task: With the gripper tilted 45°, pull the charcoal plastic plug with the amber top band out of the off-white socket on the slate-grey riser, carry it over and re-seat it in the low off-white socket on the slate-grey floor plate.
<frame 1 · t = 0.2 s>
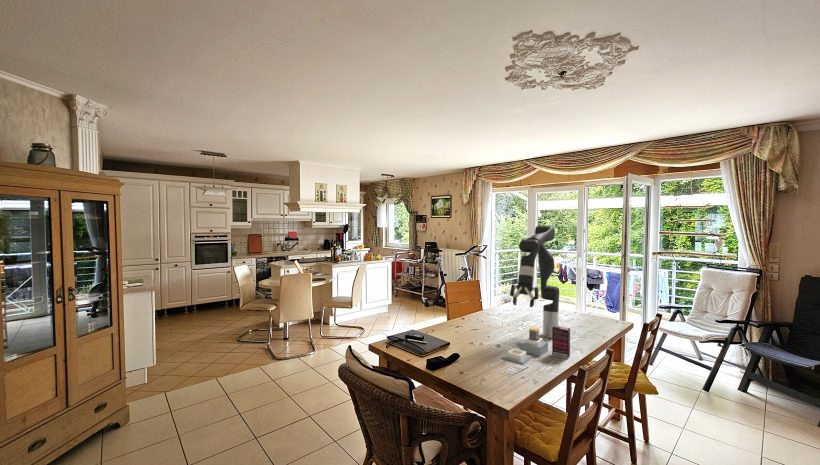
hand: (522, 306, 172), 31 cm above the table, tool tilted 20°, fingers open, 8 cm apart
plug: (533, 342, 192), point 5 cm above the table, touching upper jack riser
supplement box: (560, 356, 185), on the table
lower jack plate: (516, 358, 181), on the table
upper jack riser: (533, 350, 192), on the table
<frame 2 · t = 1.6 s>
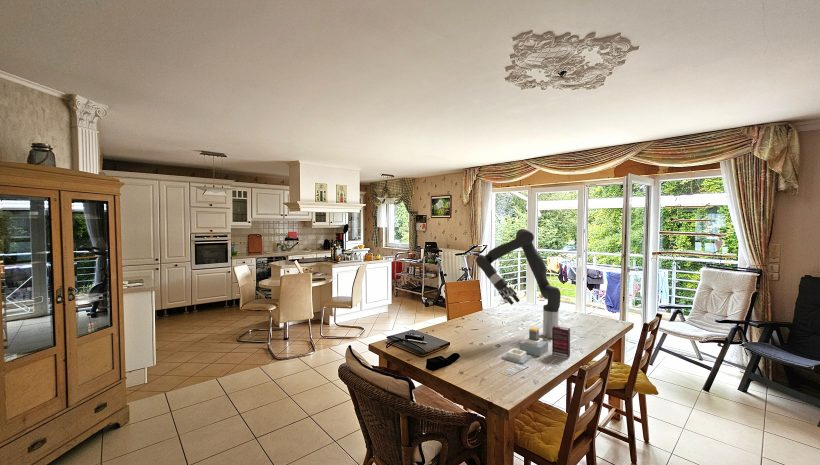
hand: (515, 302, 199), 26 cm above the table, tool tilted 45°, fingers open, 8 cm apart
nothing on the table moved.
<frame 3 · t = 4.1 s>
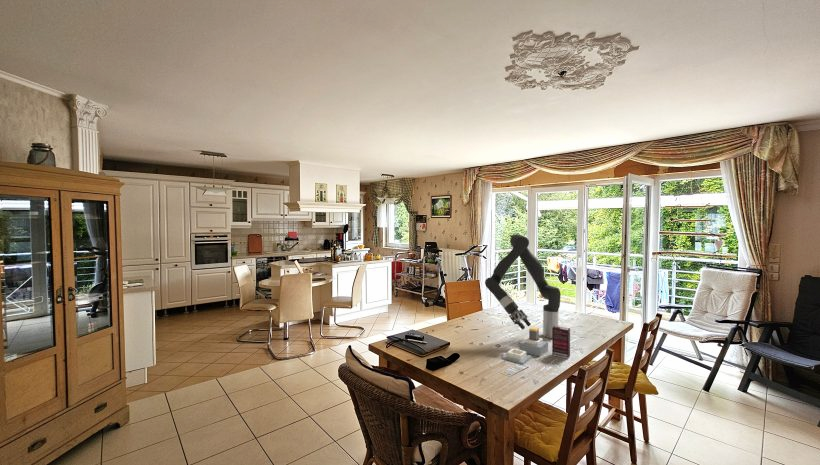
hand: (526, 327, 195), 13 cm above the table, tool tilted 45°, fingers open, 8 cm apart
nothing on the table moved.
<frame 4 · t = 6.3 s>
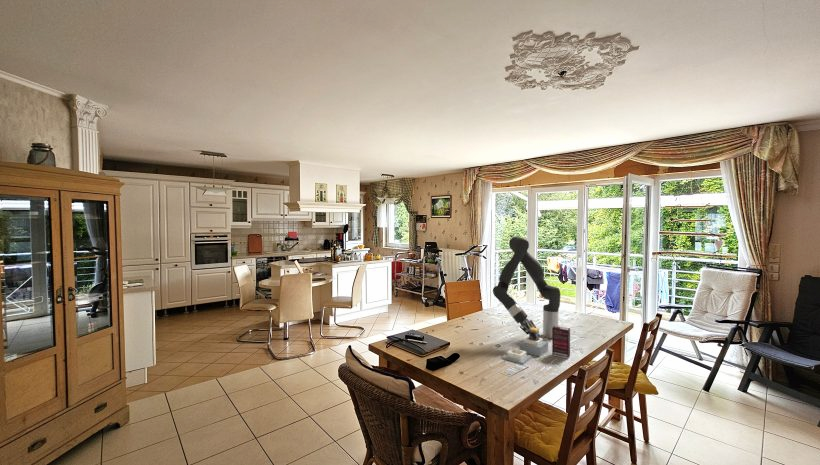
hand: (537, 337, 191), 8 cm above the table, tool tilted 45°, fingers closed on plug, 4 cm apart
plug: (533, 342, 192), point 5 cm above the table, touching gripper, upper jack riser
everything else where it was.
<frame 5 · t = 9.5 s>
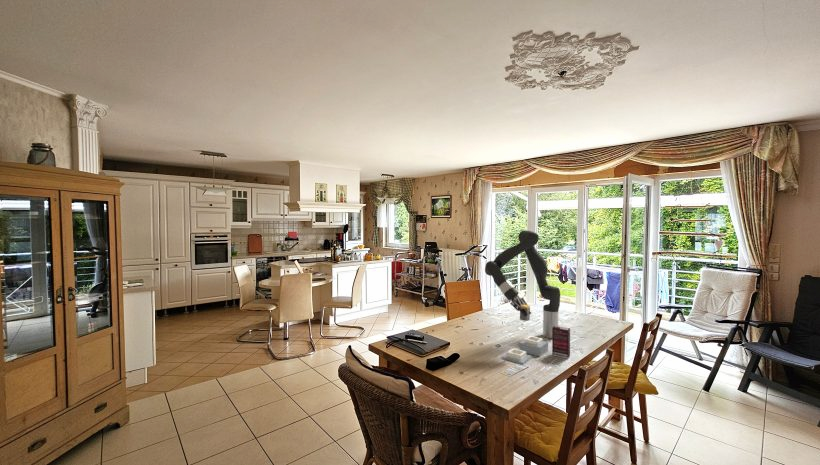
hand: (528, 314, 185), 23 cm above the table, tool tilted 45°, fingers closed on plug, 4 cm apart
plug: (524, 319, 186), point 20 cm above the table, touching gripper
everything else where it was.
when the fingers open (5 cm above the table, at t = 12.7 s): plug drops 1 cm, resting on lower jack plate.
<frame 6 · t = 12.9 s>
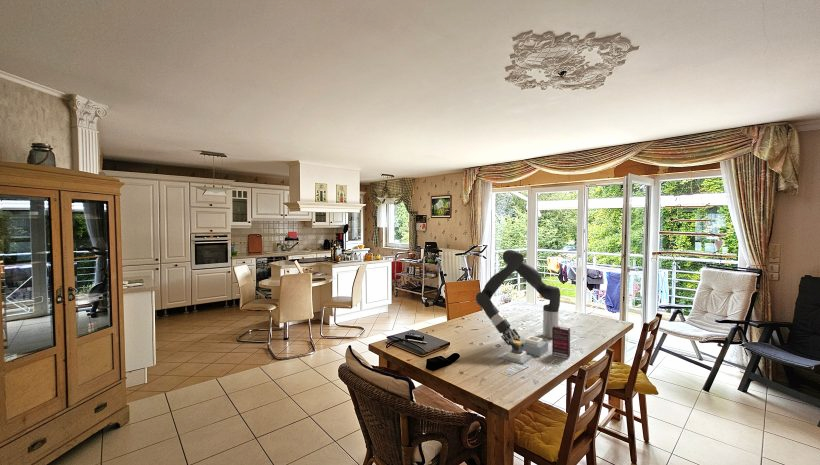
hand: (520, 348, 180), 6 cm above the table, tool tilted 45°, fingers open, 6 cm apart
plug: (516, 356, 181), point 1 cm above the table, touching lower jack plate
everything else where it was.
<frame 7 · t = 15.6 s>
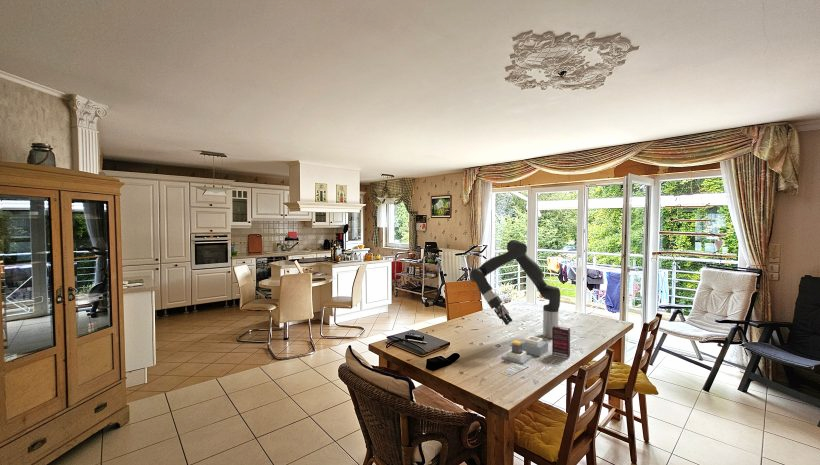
hand: (509, 323, 187), 18 cm above the table, tool tilted 40°, fingers open, 8 cm apart
nothing on the table moved.
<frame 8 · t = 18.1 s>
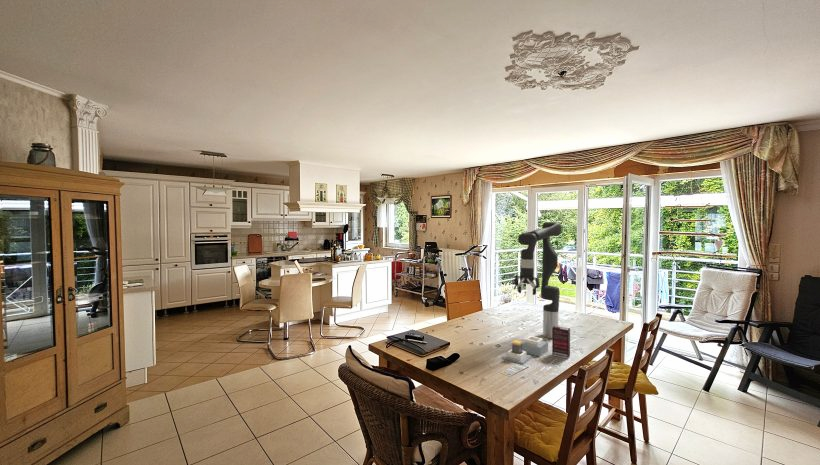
hand: (526, 293, 197), 32 cm above the table, tool pointing down, fingers open, 8 cm apart
nothing on the table moved.
at the end: plug 0.1 cm off-centre on the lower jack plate, point 1.0 cm above the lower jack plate's base; plug tilted 0°; the gripper is holding nothing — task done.
